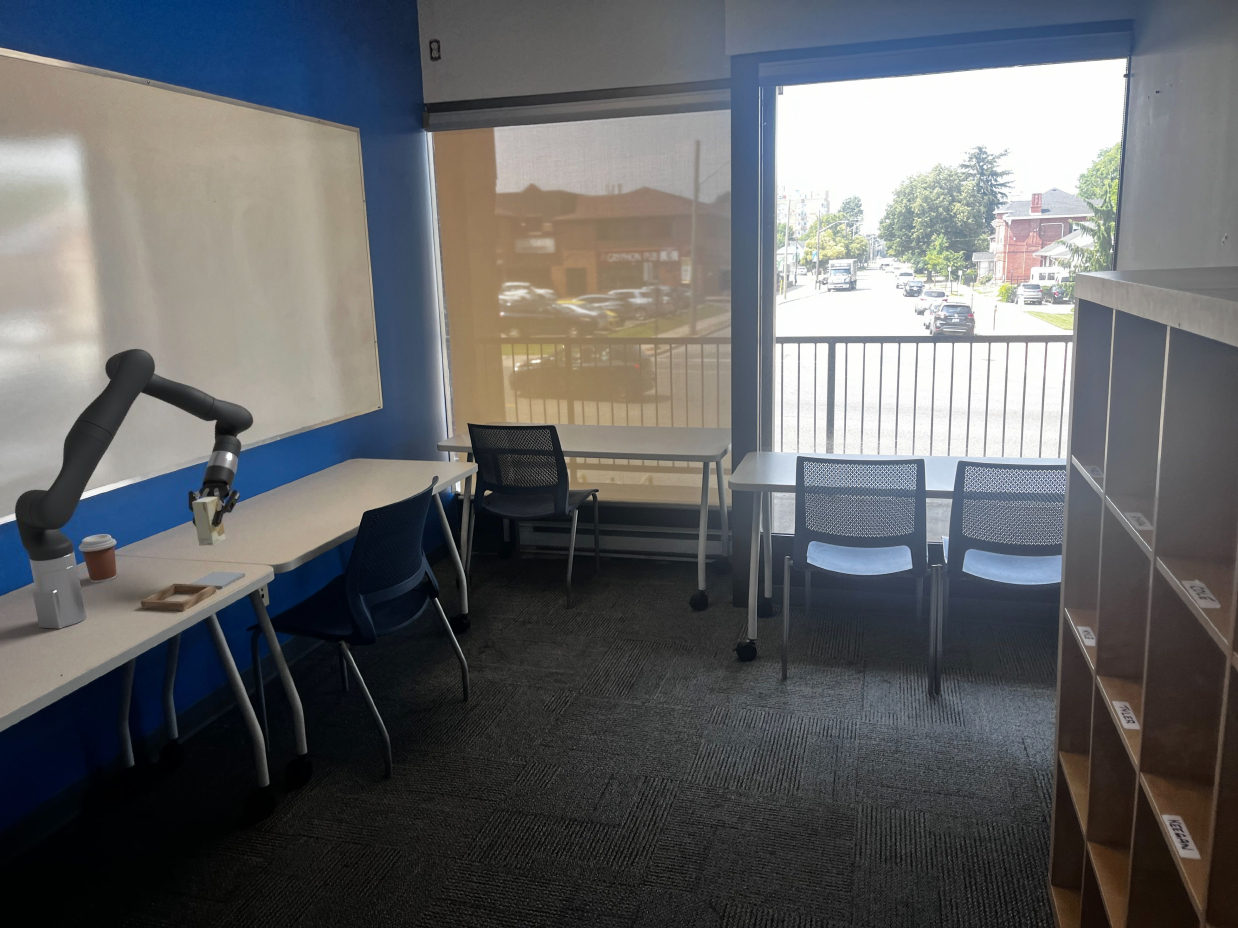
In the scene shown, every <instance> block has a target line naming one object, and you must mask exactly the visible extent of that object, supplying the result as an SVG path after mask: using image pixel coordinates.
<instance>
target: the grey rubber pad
mask: <svg viewBox="0 0 1238 928" xmlns="http://www.w3.org/2000/svg"><path fill="white" fill-rule="evenodd" d="M244 577H246V573H245V572H236V571H235V572H232V571H231V572H230V571H214V570H213V571H212V572H210V573H208V574H206V575H204V576H202V577H200V578H198V579H196V580H194V581H193V582H191V583H190V584H194V585H214V586H215V588H216V589H217V588H223V587H225V586H226V587H228V586H229V584H230V585H231V583H232V584H233V583H235V582H237V581H238V579H239V580H240V579H242V578H244ZM236 580H237V581H236ZM227 585H228V586H227ZM226 587H225V588H226ZM223 589H224V588H223Z"/></svg>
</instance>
